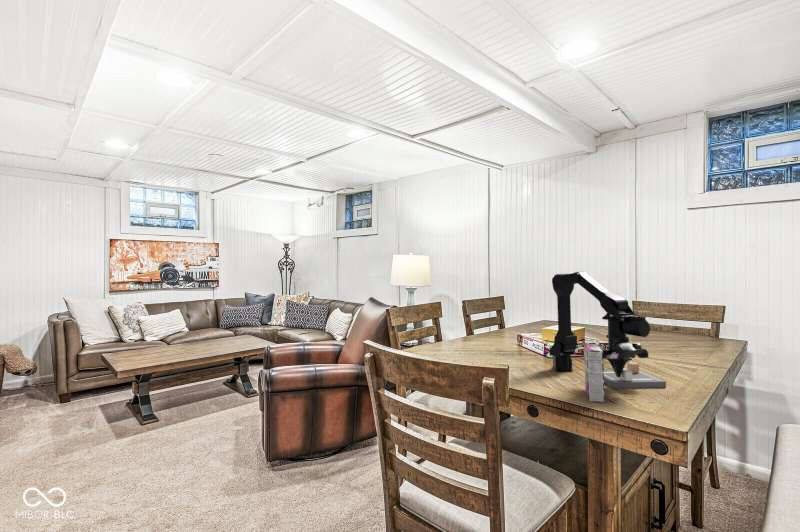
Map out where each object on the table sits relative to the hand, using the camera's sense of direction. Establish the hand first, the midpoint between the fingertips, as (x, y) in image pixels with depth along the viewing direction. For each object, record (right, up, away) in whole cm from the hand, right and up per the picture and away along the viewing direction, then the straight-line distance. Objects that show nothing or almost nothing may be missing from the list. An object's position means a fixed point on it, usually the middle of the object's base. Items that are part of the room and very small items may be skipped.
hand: (618, 377), depth 142 cm
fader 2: (+11, -1, +10) cm, 15 cm away
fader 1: (+3, -1, 0) cm, 3 cm away
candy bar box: (-14, -4, -12) cm, 19 cm away
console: (+6, -3, +5) cm, 8 cm away
